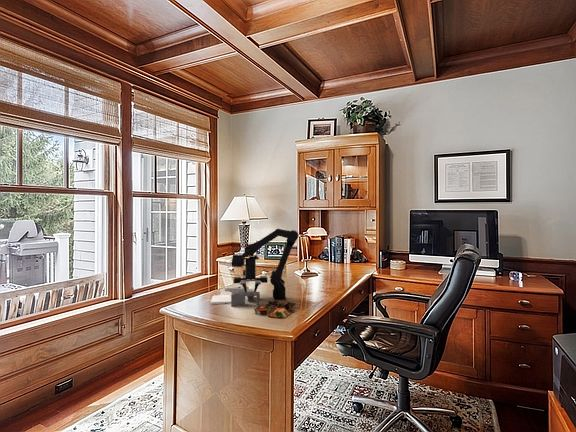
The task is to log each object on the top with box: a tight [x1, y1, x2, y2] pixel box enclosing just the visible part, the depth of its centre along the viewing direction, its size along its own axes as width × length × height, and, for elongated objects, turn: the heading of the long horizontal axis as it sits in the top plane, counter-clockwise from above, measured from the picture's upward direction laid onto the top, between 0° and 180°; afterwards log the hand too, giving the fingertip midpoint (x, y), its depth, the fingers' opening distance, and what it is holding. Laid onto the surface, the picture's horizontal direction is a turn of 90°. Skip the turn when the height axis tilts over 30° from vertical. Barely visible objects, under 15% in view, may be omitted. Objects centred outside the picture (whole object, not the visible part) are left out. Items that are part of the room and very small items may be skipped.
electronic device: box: [224, 275, 250, 293], centre depth 211 cm, size 5×10×15 cm
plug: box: [246, 288, 255, 302], centre depth 192 cm, size 4×12×4 cm, turn 7°
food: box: [252, 300, 298, 319], centre depth 170 cm, size 22×19×4 cm
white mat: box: [209, 294, 231, 305], centre depth 189 cm, size 12×14×1 cm
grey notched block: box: [230, 291, 261, 307], centre depth 181 cm, size 14×5×6 cm, turn 97°
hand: (250, 294), depth 195 cm, fingers closed on plug, 4 cm apart
